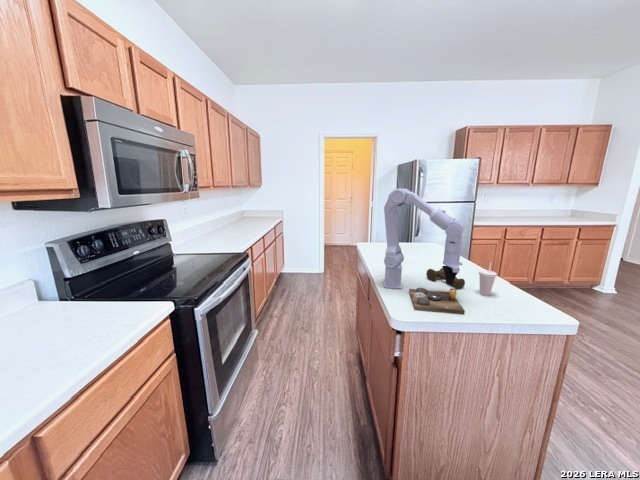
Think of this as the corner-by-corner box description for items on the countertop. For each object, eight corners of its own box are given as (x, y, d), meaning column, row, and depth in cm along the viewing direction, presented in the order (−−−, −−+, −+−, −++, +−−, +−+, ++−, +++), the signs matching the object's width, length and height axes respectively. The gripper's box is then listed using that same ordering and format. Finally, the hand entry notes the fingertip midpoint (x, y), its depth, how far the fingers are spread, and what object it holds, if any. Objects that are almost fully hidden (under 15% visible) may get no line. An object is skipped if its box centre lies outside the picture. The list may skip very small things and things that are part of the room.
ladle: (428, 300, 101) (429, 290, 100) (426, 294, 106) (427, 285, 105) (457, 302, 99) (458, 292, 98) (453, 297, 104) (454, 287, 103)
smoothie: (496, 297, 108) (501, 265, 105) (479, 296, 109) (483, 264, 106) (489, 291, 114) (494, 260, 111) (473, 290, 115) (477, 259, 112)
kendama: (452, 292, 115) (420, 276, 133) (468, 289, 118) (434, 274, 136) (454, 279, 113) (421, 265, 132) (470, 277, 117) (436, 263, 135)
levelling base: (408, 292, 113) (409, 285, 113) (451, 295, 110) (451, 288, 109) (414, 309, 97) (415, 301, 96) (464, 314, 94) (465, 306, 93)
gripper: (469, 257, 96) (465, 291, 99) (457, 248, 110) (454, 278, 113) (449, 256, 98) (445, 290, 101) (439, 247, 112) (437, 277, 114)
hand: (449, 283), depth 107 cm, fingers closed
